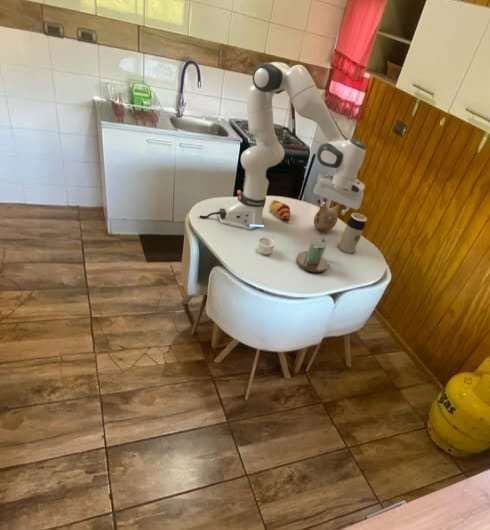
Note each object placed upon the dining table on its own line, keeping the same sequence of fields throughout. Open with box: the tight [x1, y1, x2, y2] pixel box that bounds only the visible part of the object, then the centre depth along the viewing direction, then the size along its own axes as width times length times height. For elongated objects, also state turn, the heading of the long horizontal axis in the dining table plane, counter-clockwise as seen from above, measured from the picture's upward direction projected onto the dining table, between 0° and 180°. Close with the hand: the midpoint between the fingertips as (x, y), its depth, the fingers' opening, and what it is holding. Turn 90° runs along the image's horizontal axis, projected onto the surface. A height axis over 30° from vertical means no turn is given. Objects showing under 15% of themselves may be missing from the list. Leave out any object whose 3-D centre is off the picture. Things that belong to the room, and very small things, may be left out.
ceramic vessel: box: [313, 198, 346, 233], centre depth 190 cm, size 16×9×25 cm, turn 104°
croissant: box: [269, 199, 291, 222], centre depth 202 cm, size 21×10×8 cm, turn 19°
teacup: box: [256, 236, 276, 255], centre depth 170 cm, size 10×8×5 cm
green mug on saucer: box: [295, 237, 329, 273], centre depth 165 cm, size 15×14×10 cm
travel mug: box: [337, 212, 368, 254], centre depth 181 cm, size 8×8×18 cm
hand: (332, 210), depth 162 cm, fingers open, 8 cm apart
